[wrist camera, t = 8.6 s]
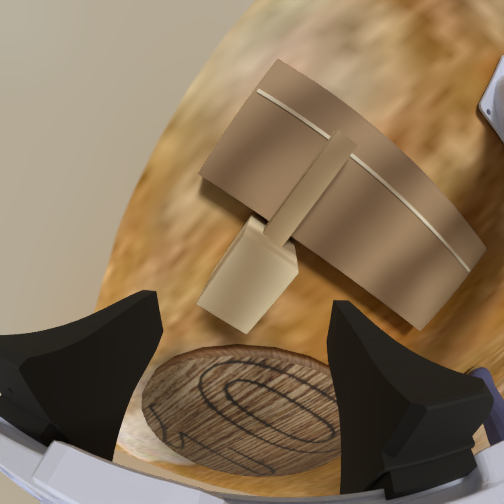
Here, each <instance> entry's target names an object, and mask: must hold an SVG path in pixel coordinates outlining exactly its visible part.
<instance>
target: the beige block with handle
mask: <svg viewBox="0 0 504 504" xmlns="http://www.w3.org/2000/svg"><path fill="white" fill-rule="evenodd" d="M356 147H357V144H356V143H354V142H353V141H352V140H351V139H349V138H348V137H347V136H346V135H344V134H343V133H342V132H340V131H339V130H336V131H334V132H333V134H332V135H331V136H330V138H329V139H328V141H327V142H326V143H325V145H324V146H323V147H322V149H321V150H320V152H319V153H318V154H317V156H316V157H315V158H314V160H313V161H312V163H311V164H310V165H309V167H308V168H307V169H306V171H305V172H304V174H303V175H302V176H301V178H300V179H299V180H298V182H297V183H296V185H295V186H294V187H293V189H292V190H291V191H290V193H289V194H288V196H287V197H286V198H285V200H284V201H283V203H282V204H281V205H280V207H279V208H278V209H277V211H276V212H275V214H274V215H273V216H272V218H271V219H270V221H269V222H266V221H265V220H263V219H262V218H261V217H259V216H258V215H256V214H255V213H252V214H251V216H250V217H249V219H248V220H247V221H246V223H245V224H244V226H243V227H242V229H241V230H240V232H239V233H238V234H237V236H236V237H235V239H234V240H233V242H232V243H231V245H230V246H229V248H228V249H227V250H226V252H225V253H224V255H223V256H222V258H221V259H220V261H219V262H218V264H217V265H216V267H215V269H214V270H213V272H212V274H211V276H210V278H209V280H208V282H207V284H206V286H205V288H204V290H203V291H202V293H201V295H200V297H199V299H198V301H197V303H196V304H197V305H199V306H201V307H202V308H204V309H205V310H207V311H208V312H210V313H212V314H213V315H215V316H217V317H218V318H220V319H221V320H223V321H225V322H226V323H228V324H230V325H231V326H233V327H235V328H236V329H238V330H240V331H242V332H243V333H245V334H247V333H248V332H249V331H250V330H251V329H252V327H253V326H254V325H255V324H256V323H257V322H258V321H259V319H260V318H261V317H262V316H263V315H264V314H265V312H266V311H267V310H268V309H269V308H270V307H271V305H272V304H273V303H274V302H275V301H276V300H277V298H278V297H279V296H280V295H281V294H282V292H283V291H284V290H285V289H286V288H287V286H288V285H289V284H290V283H291V282H292V280H293V279H294V278H295V277H296V275H297V274H298V265H297V258H296V251H295V244H294V240H293V239H291V238H290V236H291V235H292V233H293V232H294V231H295V229H296V228H297V227H298V225H299V224H300V223H301V221H302V220H303V219H304V217H305V216H306V215H307V213H308V212H309V211H310V209H311V208H312V207H313V205H314V204H315V203H316V201H317V200H318V199H319V197H320V196H321V195H322V193H323V192H324V191H325V189H326V188H327V187H328V185H329V184H330V182H331V181H332V180H333V178H334V177H335V176H336V174H337V173H338V172H339V170H340V169H341V167H342V166H343V165H344V163H345V162H346V161H347V159H348V158H349V156H350V155H351V154H352V152H353V151H354V150H355V148H356Z"/></svg>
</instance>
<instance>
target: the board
mask: <svg viewBox="0 0 504 504" xmlns="http://www.w3.org/2000/svg"><path fill="white" fill-rule="evenodd" d="M336 130H339V131H340V132H342V133H343V134H344V135H346V136H347V137H348V138H349V139H351V140H352V141H353V142H354V143H356V144H357V147H356V148H355V150H354V151H353V152H352V154H351V155H350V156H349V158H348V159H347V161H346V162H345V163H344V165H343V166H342V167H341V169H340V170H339V172H338V173H337V174H336V176H335V177H334V178H333V180H332V181H331V182H330V184H329V185H328V187H327V188H326V189H325V191H324V192H323V193H322V195H321V196H320V197H319V199H318V200H317V201H316V203H315V204H314V205H313V207H312V208H311V209H310V211H309V212H308V213H307V215H306V216H305V217H304V219H303V220H302V221H301V223H300V224H299V225H298V227H297V228H296V229H295V231H294V232H293V233H292V235H291V236H292V237H293V238H294V239H296V240H297V241H299V242H300V243H302V244H303V245H304V246H306V247H307V248H309V249H310V250H311V251H313V252H314V253H316V254H317V255H319V256H320V257H321V258H323V259H324V260H326V261H327V262H328V263H330V264H331V265H332V266H334V267H335V268H337V269H338V270H339V271H341V272H342V273H344V274H345V275H346V276H348V277H349V278H350V279H352V280H353V281H354V282H356V283H357V284H359V285H360V286H361V287H363V288H364V289H365V290H367V291H368V292H369V293H371V294H372V295H373V296H375V297H376V298H377V299H379V300H380V301H381V302H383V303H384V304H385V305H387V306H388V307H389V308H391V309H392V310H393V311H395V312H396V313H397V314H399V315H400V316H401V317H402V318H404V319H405V320H406V321H408V322H409V323H410V324H411V325H413V326H414V327H415V328H417V329H418V330H419V331H421V330H422V329H423V328H424V327H425V326H426V325H427V323H428V322H429V321H430V320H431V319H432V318H433V317H434V316H435V315H436V314H437V312H438V311H439V310H440V309H441V308H442V307H443V306H444V304H445V303H446V302H447V301H448V300H449V299H450V297H451V296H452V295H453V294H454V292H455V291H456V290H457V289H458V288H459V286H460V285H461V284H462V282H463V281H464V280H465V279H466V277H467V276H468V275H469V273H470V272H471V271H472V269H473V268H474V267H475V265H476V264H477V262H478V261H479V260H480V258H481V257H482V255H483V254H484V252H485V251H486V250H487V248H486V246H485V245H484V244H483V242H482V241H481V239H480V238H479V237H478V235H477V234H476V233H475V231H474V230H473V229H472V227H471V226H470V225H469V224H468V222H467V221H466V220H465V218H464V217H463V216H462V215H461V213H460V212H459V211H458V210H457V209H456V207H455V206H454V205H453V204H452V203H451V202H450V200H449V199H448V198H447V197H446V196H445V195H444V194H443V192H442V191H441V190H440V189H439V188H438V187H437V186H436V185H435V184H434V183H433V181H432V180H431V179H430V178H429V177H428V176H427V175H426V174H425V173H424V172H423V171H422V170H421V169H420V168H419V167H418V166H417V165H416V164H415V163H414V162H413V161H412V160H411V159H410V158H409V157H408V156H407V155H406V154H405V153H404V152H403V151H402V150H400V149H399V148H398V147H397V146H396V145H395V144H394V143H393V142H392V141H391V140H390V139H388V138H387V137H386V136H385V135H384V134H383V133H382V132H380V131H379V130H378V129H377V128H376V127H374V126H373V125H372V124H371V123H370V122H368V121H367V120H366V119H365V118H364V117H362V116H361V115H360V114H359V113H357V112H356V111H355V110H353V109H352V108H351V107H349V106H348V105H347V104H346V103H344V102H343V101H341V100H340V99H339V98H337V97H336V96H335V95H333V94H332V93H330V92H329V91H328V90H326V89H325V88H323V87H322V86H320V85H319V84H317V83H316V82H314V81H313V80H311V79H310V78H308V77H307V76H305V75H304V74H302V73H300V72H299V71H297V70H296V69H294V68H292V67H291V66H289V65H287V64H286V63H284V62H282V61H281V60H279V59H277V60H276V62H275V63H274V64H273V65H272V67H271V68H270V69H269V71H268V72H267V73H266V75H265V76H264V77H263V79H262V80H261V81H260V83H259V84H258V85H257V87H256V88H255V89H254V91H253V92H252V93H251V95H250V96H249V98H248V99H247V100H246V102H245V103H244V105H243V106H242V107H241V109H240V110H239V112H238V113H237V115H236V116H235V117H234V119H233V120H232V122H231V123H230V125H229V126H228V128H227V129H226V131H225V132H224V134H223V135H222V137H221V138H220V140H219V141H218V143H217V144H216V146H215V147H214V149H213V150H212V152H211V154H210V155H209V157H208V158H207V160H206V162H205V163H204V165H203V166H202V168H201V170H200V171H199V173H198V174H199V175H201V176H202V177H204V178H205V179H207V180H208V181H210V182H211V183H213V184H214V185H216V186H217V187H219V188H221V189H222V190H224V191H225V192H227V193H228V194H230V195H231V196H233V197H234V198H236V199H237V200H239V201H240V202H242V203H243V204H245V205H246V206H248V207H249V208H251V209H252V210H254V211H255V212H257V213H258V214H259V215H261V216H262V217H264V218H265V219H267V220H268V221H270V219H271V218H272V216H273V215H274V214H275V212H276V211H277V209H278V208H279V207H280V205H281V204H282V203H283V201H284V200H285V198H286V197H287V196H288V194H289V193H290V191H291V190H292V189H293V187H294V186H295V185H296V183H297V182H298V180H299V179H300V178H301V176H302V175H303V174H304V172H305V171H306V169H307V168H308V167H309V165H310V164H311V163H312V161H313V160H314V158H315V157H316V156H317V154H318V153H319V152H320V150H321V149H322V147H323V146H324V145H325V143H326V142H327V141H328V139H329V138H330V136H331V135H332V134H333V132H334V131H336Z"/></svg>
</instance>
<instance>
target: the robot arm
mask: <svg viewBox="0 0 504 504" xmlns="http://www.w3.org/2000/svg"><path fill="white" fill-rule="evenodd" d="M479 110H480V111H481V113H482V114H483V115H484V116H485V118H486V119H487V120H488V122H489V123H490V124H491V126H492V127H493V129H494V130H495V131H496V133H497V134H498V136H499V137H500V138H501V140H502V141H503V143H504V56H501V58H500V61H499V63H498V65H497V68H496V70H495V72H494V74H493V76H492V78H491V80H490V83H489V85H488V87H487V89H486V91H485V93H484V95H483V97H482V99H481V101H480V102H479ZM487 111H488V114H487ZM162 333H163V327H162V321H161V316H160V310H159V305H158V299H157V293H156V291H149V290H142V291H139V292H137V293H135V294H132V295H130V296H128V297H126V298H124V299H122V300H120V301H118V302H116V303H114V304H112V305H110V306H108V307H106V308H104V309H102V310H100V311H98V312H96V313H94V314H91V315H89V316H87V317H85V318H82V319H80V320H77V321H74V322H71V323H69V324H66V325H63V326H59V327H55V328H51V329H47V330H43V331H38V332H32V333H26V334H15V335H0V393H1V394H2V395H1V396H0V471H1V472H2V473H4V474H5V475H6V476H7V477H8V478H10V479H11V480H12V481H13V482H15V483H16V484H17V485H18V486H20V487H21V488H22V489H24V490H25V491H26V492H28V493H29V494H31V495H32V496H33V497H35V498H36V499H38V500H39V501H41V502H40V504H504V441H500V442H498V443H496V444H494V445H492V446H490V447H487V448H485V449H483V450H481V451H479V452H478V453H476V454H475V455H473V453H472V450H471V448H473V447H474V446H475V442H474V440H473V437H472V436H473V435H474V433H475V432H476V431H477V430H478V428H479V427H480V426H481V425H482V423H483V422H484V421H485V419H486V418H487V417H488V415H489V413H490V412H491V409H492V407H493V404H494V397H493V395H492V393H491V392H490V390H489V388H488V387H487V385H486V383H485V382H484V380H483V379H482V378H478V377H474V376H470V375H467V374H463V373H459V372H456V371H453V370H451V369H448V368H445V367H443V366H440V365H438V364H436V363H433V362H431V361H429V360H427V359H425V358H423V357H421V356H419V355H418V354H416V353H414V352H412V351H411V350H409V349H408V348H406V347H404V346H403V345H401V344H400V343H398V342H397V341H395V340H394V339H393V338H391V337H390V336H389V335H387V334H386V333H385V332H384V331H382V330H381V329H380V328H379V327H377V326H376V325H375V324H374V323H373V322H372V321H371V320H369V319H368V318H367V317H366V316H365V315H364V314H363V313H362V312H361V311H360V310H359V309H357V308H356V307H355V306H354V305H353V304H352V303H351V302H349V301H345V300H333V306H332V313H331V319H330V325H329V330H328V336H327V354H328V363H329V368H330V372H331V377H332V381H333V386H334V391H335V395H336V400H337V405H338V411H339V420H340V436H341V486H340V495H333V496H319V497H262V496H248V495H237V494H228V493H220V492H214V491H207V490H204V489H202V488H199V487H195V486H192V485H188V484H185V483H181V482H178V481H174V480H171V479H166V478H162V477H158V476H154V475H151V474H148V473H144V472H141V471H138V470H134V469H131V468H128V467H125V466H122V465H119V464H117V463H114V462H112V460H113V455H114V450H115V446H116V442H117V438H118V434H119V431H120V427H121V424H122V421H123V418H124V415H125V412H126V409H127V407H128V404H129V401H130V399H131V396H132V394H133V392H134V390H135V388H136V386H137V384H138V382H139V380H140V378H141V377H142V375H143V373H144V371H145V369H146V368H147V366H148V364H149V362H150V360H151V359H152V357H153V355H154V353H155V351H156V349H157V347H158V344H159V342H160V339H161V336H162Z"/></svg>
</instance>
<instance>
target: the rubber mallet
mask: <svg viewBox="0 0 504 504" xmlns="http://www.w3.org/2000/svg"><path fill="white" fill-rule="evenodd" d="M466 374H467V375H470V376H474V377H478V378H482V379H483V380H484V382H485V383H486V385H487V387H488V388H489V390H490V392H491V393H492V395H493V397H494V404H493V407H492V409H491V412H490V413H489V415H488V417H487V418H486V419H485V421H484V422H483V425H484V428H485V431H486V434H487V438H488V441H489V443H490V445H491V446H492V445H494V444H496V443H498V442H500V441H504V400H503V398H502V397H501V395H500V393H499V392H498V390H497V388H496V387H495V385H494V382H493V379H492V376H491V374H490V372H489V371H488V369H486V368H483V367H480V366H476V367H474V368H472V369H470V370H469V371H468V372H467V373H466Z"/></svg>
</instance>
